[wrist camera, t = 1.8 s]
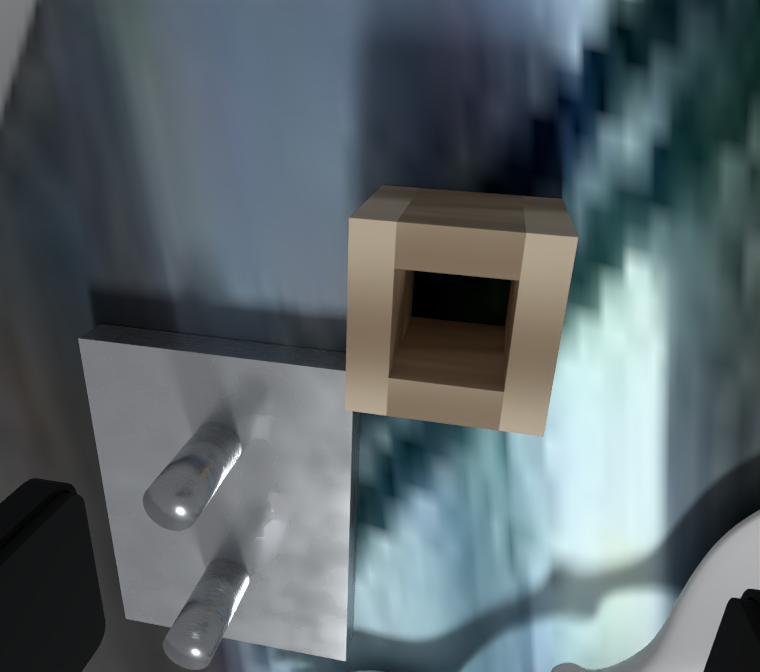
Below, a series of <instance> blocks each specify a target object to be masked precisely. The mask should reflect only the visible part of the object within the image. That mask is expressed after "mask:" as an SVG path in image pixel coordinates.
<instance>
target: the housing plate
mask: <svg viewBox="0 0 760 672" xmlns="http://www.w3.org/2000/svg"><path fill="white" fill-rule="evenodd" d="M78 340H79V346H80V352H81V358H82V363H83V369H84V375H85V381H86V387H87V393H88V399H89V405H90V410H91V416H92V422H93V428H94V434H95V440H96V446H97V452H98V457H99V463H100V469H101V475H102V481H103V487H104V493H105V499H106V504H107V510H108V516H109V522H110V528H111V534H112V540H113V546H114V551H115V557H116V563H117V569H118V575H119V581H120V587H121V593H122V598H123V604H124V610H125V616H126V619H130V620H136V621H141V622H146V623H151V624H156V625H161V626H166V627H171V629H170V630H169V632H168V634H167V635H166V637H165V639H164V641H163V648H164V651H165V653H166V655H167V656H168V657H169V658H170V659H171V660H172V661H173V662H174V663H176V664H177V665H179V666H181V667H184V668H187V669H192V670H198V669H203V668H205V667H206V666H208V665H209V663H210V661H211V659H212V657H213V655H214V653H215V651H216V649H217V647H218V645H219V643H220V641H221V639H222V637H223V638H228V639H233V640H238V641H244V642H249V643H254V644H259V645H264V646H269V647H274V648H280V649H285V650H290V651H295V652H300V653H305V654H310V655H316V656H321V657H326V658H331V659H336V660H341V661H346V659H347V655H348V651H349V648H350V644H351V640H352V637H353V621H354V590H355V560H356V529H357V499H358V469H359V438H360V412H355V411H348V410H345V384H346V353H343V352H335V351H326V350H318V349H309V348H301V347H293V346H284V345H276V344H267V343H259V342H250V341H242V340H233V339H225V338H217V337H208V336H200V335H191V334H183V333H174V332H166V331H157V330H149V329H141V328H132V327H124V326H115V325H107V324H100V325H98V326H96V327H95V328H93V329H92V330H90V331H89V332H87V333H86V334H84V335H82V336H81V337H79V338H78Z"/></svg>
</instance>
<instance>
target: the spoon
mask: <svg viewBox="0 0 760 672" xmlns="http://www.w3.org/2000/svg"><path fill="white" fill-rule="evenodd" d="M747 589H758V590H760V510H758V511H757V512H755V513H753V514H752V515H750V516H748V517H747V518H745V519H744V520H742V521H741V522H740V523H738V524H737V525H736V526H734V527H733V528H732V529H731V530H729V531H728V532H727V533H726V534H725V535H724V536H723V537H722V538H721V539H720V540H719V541H718V542H717V543H716V544H715V545H714V546H713V547H712V548H711V549H710V551H709V552H708V553H707V554H706V556H705V557H704V558H703V559H702V561H701V562H700V564H699V565H698V566H697V568H696V569H695V571H694V572H693V574H692V575H691V577H690V578H689V580H688V582H687V583H686V585H685V587H684V588H683V590H682V592H681V594H680V595H679V597H678V599H677V601H676V603H675V604H674V606H673V608H672V610H671V612H670V614H669V616H668V617H667V619H666V621H665V623H664V624H663V626H662V628H661V629H660V631H659V632H658V634H657V635H656V636H655V638H654V639H653V640H652V641H651V642H650V643H649V644H648V645H647V646H646V647H644V648H643V649H642V650H641V651H639V652H638V653H636V654H635V655H633V656H632V657H630V658H628V659H626V660H625V661H623V662H620V663H618V664H616V665H613V666H611V667H608V668H604V669H597V670H590V669H585V668H582V667H580V666H578V665H576V664H573V663H563V664H559V665H557V666H555V667H554V668H553V669H552V671H551V672H703V671H704V668H705V665H706V662H707V660H708V657H709V654H710V651H711V648H712V645H713V642H714V639H715V637H716V634H717V631H718V628H719V625H720V622H721V619H722V617H723V614H724V611H725V608H726V605H727V603H728V601H729V600H730V599H731V598H741V596H742V594H743V593H744V591H746V590H747ZM352 672H383V671H371V670H367V671H352Z"/></svg>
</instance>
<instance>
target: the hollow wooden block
mask: <svg viewBox="0 0 760 672" xmlns="http://www.w3.org/2000/svg"><path fill="white" fill-rule="evenodd" d="M577 241H578V236H577V233H576V231H575V228H574V226H573V223H572V221H571V219H570V216H569V214H568V211H567V209H566V206H565V204H564V201H563V199H558V198H545V197H532V196H519V195H505V194H492V193H479V192H466V191H453V190H440V189H427V188H414V187H401V186H388V185H382V186H381V187H380V188H379V189H378V190H377V191H376V192H375V193H374V194H373V195H372V196H371V197H370V198H369V199H368V200H367V201H366V202H365V203H364V204H363V205H362V206H361V207H360V208H359V209H358V210H356V211H355V212H354V213H353V214H352V215H351V216H350V217H349V243H348V290H347V337H346V384H345V410H348V411H355V412H363V413H370V414H378V415H386V416H393V417H401V418H408V419H416V420H423V421H431V422H438V423H446V424H453V425H461V426H468V427H476V428H484V429H491V430H499V431H506V432H514V433H521V434H529V435H536V436H544V431H545V425H546V419H547V414H548V408H549V402H550V396H551V391H552V385H553V379H554V373H555V368H556V362H557V356H558V350H559V345H560V339H561V333H562V327H563V322H564V316H565V310H566V304H567V299H568V293H569V287H570V281H571V276H572V270H573V264H574V258H575V253H576V247H577ZM414 271H425V272H435V273H445V274H456V275H466V276H477V277H487V278H497V279H508V280H511V283H510V290H509V298H508V305H507V313H506V320H505V326H496V325H486V324H477V323H468V322H459V321H449V320H440V319H431V318H421V317H412V301H413V286H414Z"/></svg>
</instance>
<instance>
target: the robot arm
mask: <svg viewBox="0 0 760 672" xmlns="http://www.w3.org/2000/svg"><path fill="white" fill-rule="evenodd" d="M104 632H105V617H104V611H103V606H102V600H101V594H100V589H99V583H98V577H97V571H96V566H95V560H94V554H93V549H92V543H91V537H90V532H89V526H88V520H87V514H86V509H85V503H84V500H83V498H82V497H81V496H80V495H77V493H76V490H75V488H74V487H73V486H72V485H71V484H68V483H63V482H57V481H50V480H44V479H37V478H34V479H30V480H28V481H27V482H25V483H23V484H22V485H21V486H20V487H19V488H18V489H16V490H15V491H14V492H13V493H12V494H11V495H10V496H8V497H7V498H6V499H5V500H4V501H3V502H1V503H0V672H82V670H83V669H84V668H85V666H86V665H87V663H88V662H89V660H90V659H91V657H92V656H93V655H94V653H95V652H96V650H97V649H98V647H99V645H100V643H101V641H102V639H103V635H104ZM703 672H760V590H758V589H747V590H746V591H744V593H743V594H742V596H741V598H731V599H730V600H729V601H728V603H727V605H726V608H725V611H724V614H723V617H722V619H721V622H720V625H719V628H718V631H717V634H716V637H715V639H714V642H713V645H712V648H711V651H710V654H709V657H708V660H707V662H706V665H705V668H704V671H703Z"/></svg>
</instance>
